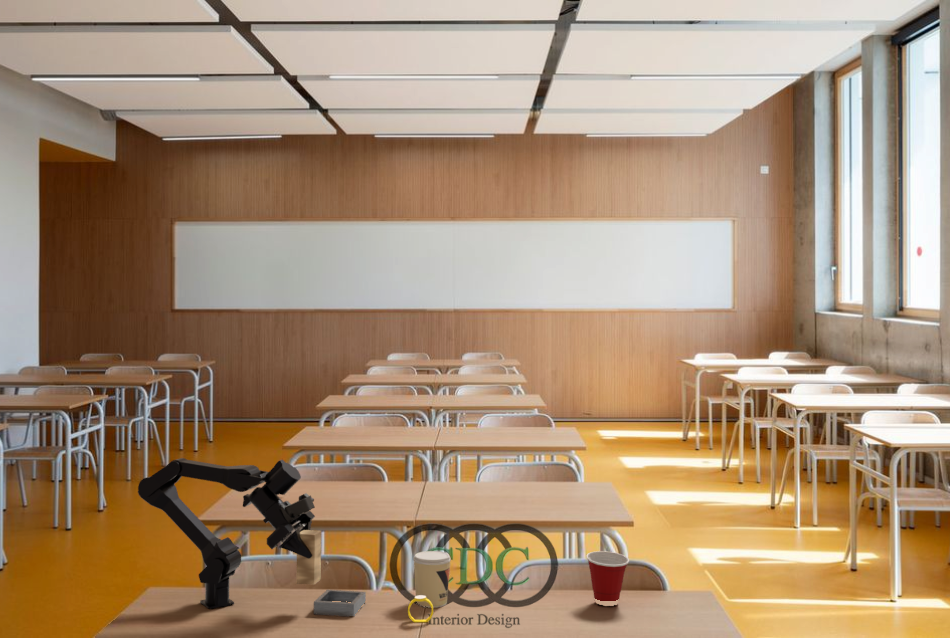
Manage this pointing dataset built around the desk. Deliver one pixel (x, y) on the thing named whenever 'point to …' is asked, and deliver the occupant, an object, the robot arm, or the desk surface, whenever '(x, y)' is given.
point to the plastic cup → (607, 574)
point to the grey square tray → (339, 603)
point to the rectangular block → (310, 567)
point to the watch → (420, 598)
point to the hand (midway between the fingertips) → (314, 554)
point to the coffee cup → (432, 577)
